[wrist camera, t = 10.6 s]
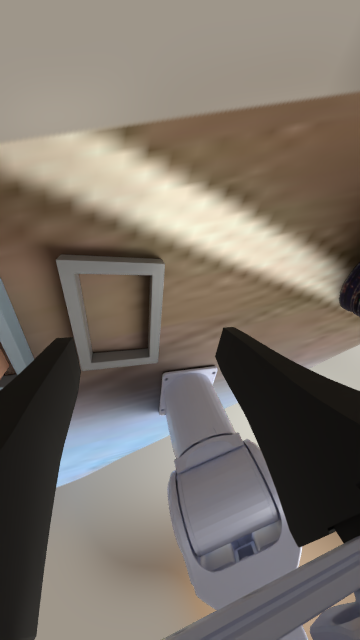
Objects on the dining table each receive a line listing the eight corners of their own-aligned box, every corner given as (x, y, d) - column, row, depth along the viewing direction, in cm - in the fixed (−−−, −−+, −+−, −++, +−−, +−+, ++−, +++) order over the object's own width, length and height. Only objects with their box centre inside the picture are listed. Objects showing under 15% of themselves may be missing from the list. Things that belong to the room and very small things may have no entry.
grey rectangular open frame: (155, 353, 23) (157, 362, 22) (84, 360, 21) (81, 371, 20) (161, 258, 17) (164, 264, 16) (61, 254, 15) (55, 259, 13)
